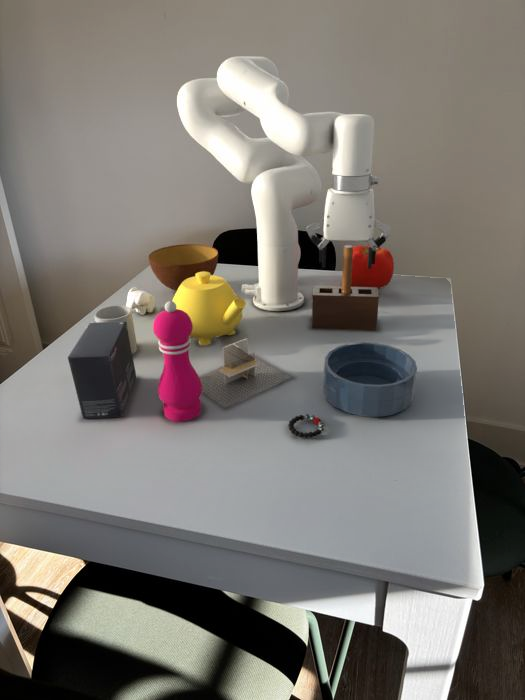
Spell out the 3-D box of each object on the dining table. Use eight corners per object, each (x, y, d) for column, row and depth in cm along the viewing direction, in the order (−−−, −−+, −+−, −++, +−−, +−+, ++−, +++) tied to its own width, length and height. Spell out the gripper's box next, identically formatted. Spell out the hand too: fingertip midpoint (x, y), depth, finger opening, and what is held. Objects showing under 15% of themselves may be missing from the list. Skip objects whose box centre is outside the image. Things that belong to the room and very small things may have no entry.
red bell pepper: (382, 299, 129) (386, 258, 124) (333, 291, 135) (334, 251, 130) (398, 282, 139) (402, 244, 134) (352, 275, 145) (354, 238, 140)
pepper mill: (163, 401, 91) (148, 294, 82) (204, 398, 91) (194, 291, 82) (159, 425, 85) (143, 312, 75) (203, 422, 85) (193, 309, 76)
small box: (100, 379, 98) (89, 321, 93) (137, 377, 98) (127, 319, 93) (80, 419, 87) (66, 356, 81) (122, 418, 87) (110, 354, 81)
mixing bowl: (322, 417, 85) (323, 384, 82) (324, 371, 99) (325, 340, 96) (417, 423, 83) (422, 388, 80) (407, 375, 97) (410, 344, 94)
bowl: (139, 294, 136) (133, 257, 131) (184, 275, 149) (181, 240, 144) (189, 308, 127) (185, 269, 122) (233, 286, 140) (231, 250, 135)
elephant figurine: (121, 313, 126) (117, 289, 123) (150, 304, 130) (147, 281, 128) (134, 321, 121) (130, 297, 118) (164, 312, 126) (161, 288, 123)
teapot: (271, 338, 112) (270, 277, 105) (214, 363, 102) (209, 298, 96) (213, 312, 125) (209, 256, 118) (158, 332, 115) (150, 273, 109)
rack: (376, 331, 114) (379, 296, 110) (311, 328, 115) (312, 295, 112) (374, 320, 118) (377, 287, 115) (313, 318, 120) (313, 285, 116)
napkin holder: (260, 379, 96) (259, 344, 93) (230, 393, 93) (228, 356, 89) (249, 372, 99) (247, 337, 95) (219, 385, 95) (216, 349, 92)
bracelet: (331, 431, 82) (331, 426, 81) (301, 444, 79) (301, 438, 79) (310, 414, 86) (310, 409, 86) (281, 425, 83) (281, 420, 83)
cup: (142, 353, 107) (136, 313, 103) (94, 367, 102) (86, 326, 98) (129, 340, 112) (123, 302, 108) (83, 353, 107) (75, 314, 103)
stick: (339, 326, 116) (343, 247, 108) (339, 322, 118) (343, 245, 109) (348, 326, 116) (353, 247, 107) (348, 323, 117) (353, 245, 109)
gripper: (394, 179, 105) (386, 261, 113) (308, 179, 107) (306, 260, 115) (397, 186, 98) (389, 273, 106) (305, 186, 100) (304, 271, 108)
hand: (346, 266), depth 111 cm, fingers open, 9 cm apart
